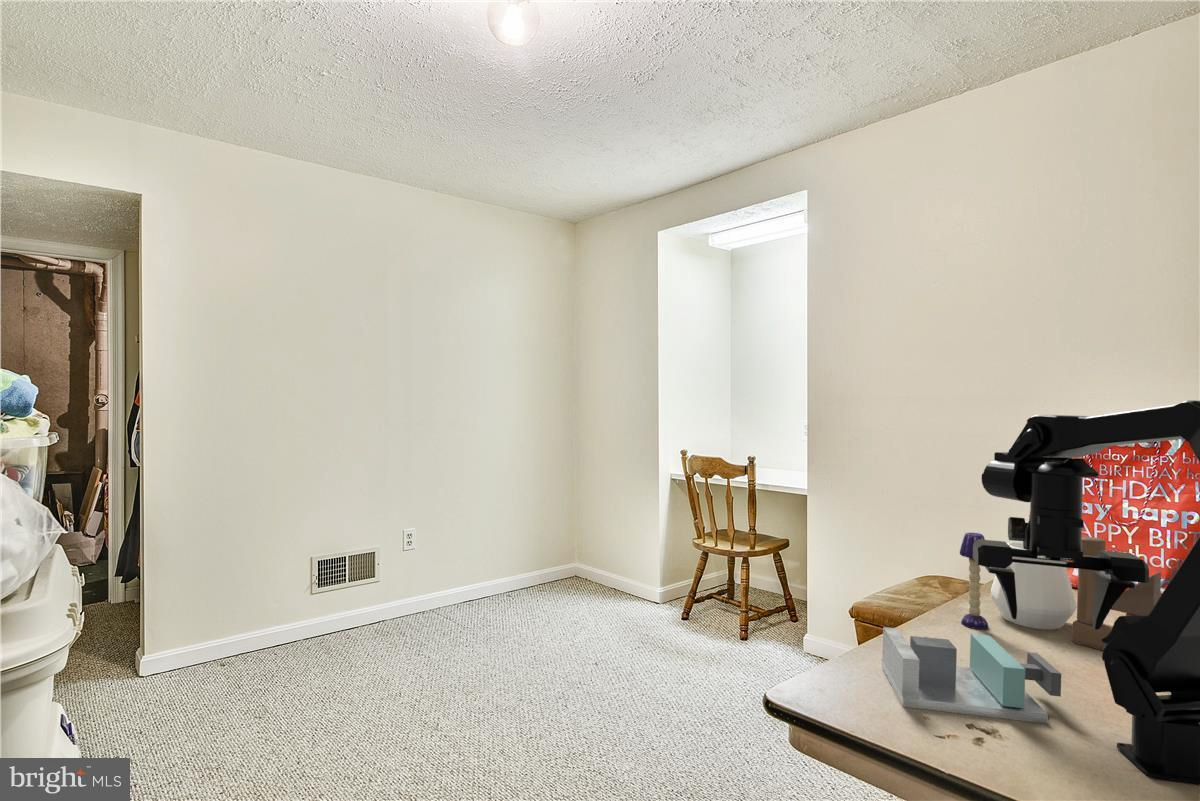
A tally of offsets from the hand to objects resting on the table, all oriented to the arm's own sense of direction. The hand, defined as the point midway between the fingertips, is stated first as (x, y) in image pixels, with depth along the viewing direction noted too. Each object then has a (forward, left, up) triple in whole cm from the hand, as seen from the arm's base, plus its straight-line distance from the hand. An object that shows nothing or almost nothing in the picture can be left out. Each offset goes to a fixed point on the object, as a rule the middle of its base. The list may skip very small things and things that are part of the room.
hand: (1053, 623), depth 87 cm
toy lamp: (+31, 0, -11) cm, 33 cm away
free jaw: (0, +4, -9) cm, 10 cm away
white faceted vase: (+37, -12, -11) cm, 41 cm away
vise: (0, +12, -11) cm, 16 cm away
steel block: (0, +15, -10) cm, 18 cm away
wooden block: (+24, -19, -11) cm, 33 cm away
